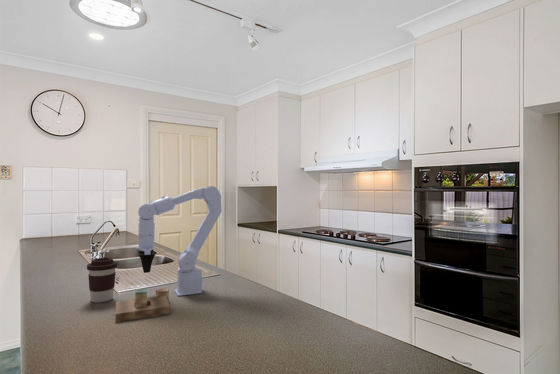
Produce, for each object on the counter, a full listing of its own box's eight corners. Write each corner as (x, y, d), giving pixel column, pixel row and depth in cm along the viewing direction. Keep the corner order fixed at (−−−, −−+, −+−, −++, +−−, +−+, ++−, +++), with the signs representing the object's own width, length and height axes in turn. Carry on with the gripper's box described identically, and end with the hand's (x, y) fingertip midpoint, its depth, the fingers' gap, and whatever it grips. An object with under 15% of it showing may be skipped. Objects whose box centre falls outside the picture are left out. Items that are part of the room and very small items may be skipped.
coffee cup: (103, 305, 115) (104, 262, 115) (79, 303, 117) (80, 261, 117) (122, 296, 125) (123, 257, 125) (100, 294, 127) (100, 256, 127)
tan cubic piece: (165, 299, 122) (165, 288, 122) (168, 301, 120) (168, 290, 120) (155, 301, 120) (155, 289, 120) (158, 303, 117) (159, 292, 117)
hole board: (165, 302, 118) (165, 295, 118) (169, 313, 107) (169, 306, 107) (116, 309, 111) (116, 301, 111) (115, 322, 100) (115, 313, 100)
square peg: (146, 309, 112) (146, 288, 112) (146, 312, 108) (147, 291, 108) (134, 310, 110) (135, 289, 110) (135, 314, 107) (135, 292, 107)
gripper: (134, 233, 131) (134, 267, 130) (135, 238, 118) (135, 275, 117) (153, 232, 134) (153, 265, 133) (156, 237, 121) (156, 273, 120)
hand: (146, 270), depth 126 cm, fingers open, 7 cm apart
